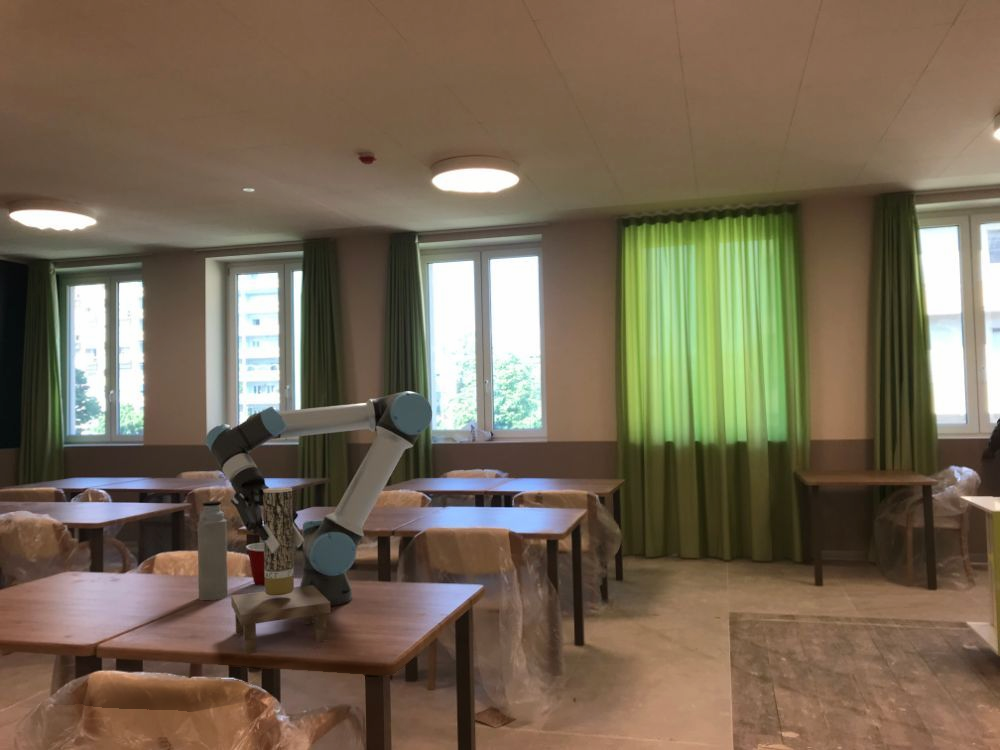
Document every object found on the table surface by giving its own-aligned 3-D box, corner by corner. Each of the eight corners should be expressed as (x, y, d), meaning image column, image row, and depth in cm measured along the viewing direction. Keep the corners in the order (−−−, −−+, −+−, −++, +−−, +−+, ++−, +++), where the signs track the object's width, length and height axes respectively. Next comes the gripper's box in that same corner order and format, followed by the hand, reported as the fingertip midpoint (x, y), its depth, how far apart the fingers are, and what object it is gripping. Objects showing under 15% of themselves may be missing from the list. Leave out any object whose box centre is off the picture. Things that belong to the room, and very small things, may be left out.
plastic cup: (271, 587, 232) (271, 548, 232) (239, 587, 234) (239, 548, 234) (288, 579, 242) (287, 542, 243) (257, 579, 244) (257, 541, 245)
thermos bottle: (216, 592, 228) (214, 499, 229) (233, 595, 223) (231, 500, 224) (192, 598, 221) (191, 502, 222) (210, 602, 217) (208, 504, 218)
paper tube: (285, 587, 187) (283, 486, 188) (299, 592, 182) (297, 488, 183) (259, 593, 182) (257, 489, 183) (273, 597, 177) (271, 491, 178)
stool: (313, 620, 195) (312, 584, 196) (331, 641, 177) (330, 602, 178) (231, 632, 187) (231, 595, 187) (241, 655, 169) (241, 614, 169)
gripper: (269, 482, 200) (312, 549, 190) (203, 490, 184) (247, 564, 174) (282, 462, 197) (326, 529, 187) (216, 469, 181) (261, 543, 171)
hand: (288, 546), depth 181 cm, fingers closed on paper tube, 7 cm apart
